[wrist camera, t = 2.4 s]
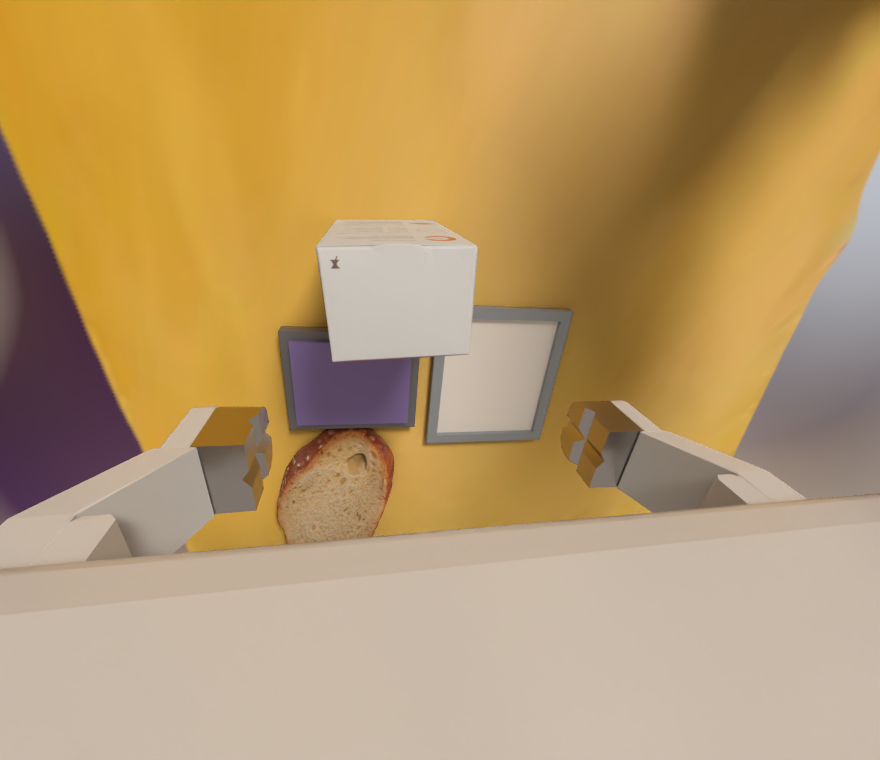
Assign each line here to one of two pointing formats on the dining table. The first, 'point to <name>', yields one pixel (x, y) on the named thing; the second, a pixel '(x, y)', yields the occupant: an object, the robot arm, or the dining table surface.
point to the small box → (396, 289)
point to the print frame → (498, 377)
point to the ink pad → (343, 385)
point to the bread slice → (336, 487)
